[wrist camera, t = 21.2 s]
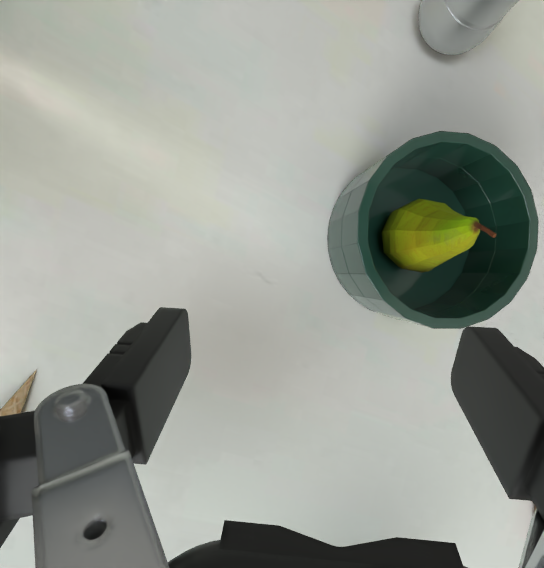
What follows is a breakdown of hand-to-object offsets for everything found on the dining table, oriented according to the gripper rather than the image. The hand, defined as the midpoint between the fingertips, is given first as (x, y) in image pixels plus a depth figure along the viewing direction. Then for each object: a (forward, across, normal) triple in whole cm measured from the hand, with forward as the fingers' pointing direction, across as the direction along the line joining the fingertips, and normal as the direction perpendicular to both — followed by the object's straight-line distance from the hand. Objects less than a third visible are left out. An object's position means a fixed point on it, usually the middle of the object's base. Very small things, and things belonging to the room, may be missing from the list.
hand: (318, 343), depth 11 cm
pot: (+25, -9, +4) cm, 27 cm away
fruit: (+25, -9, +4) cm, 27 cm away
